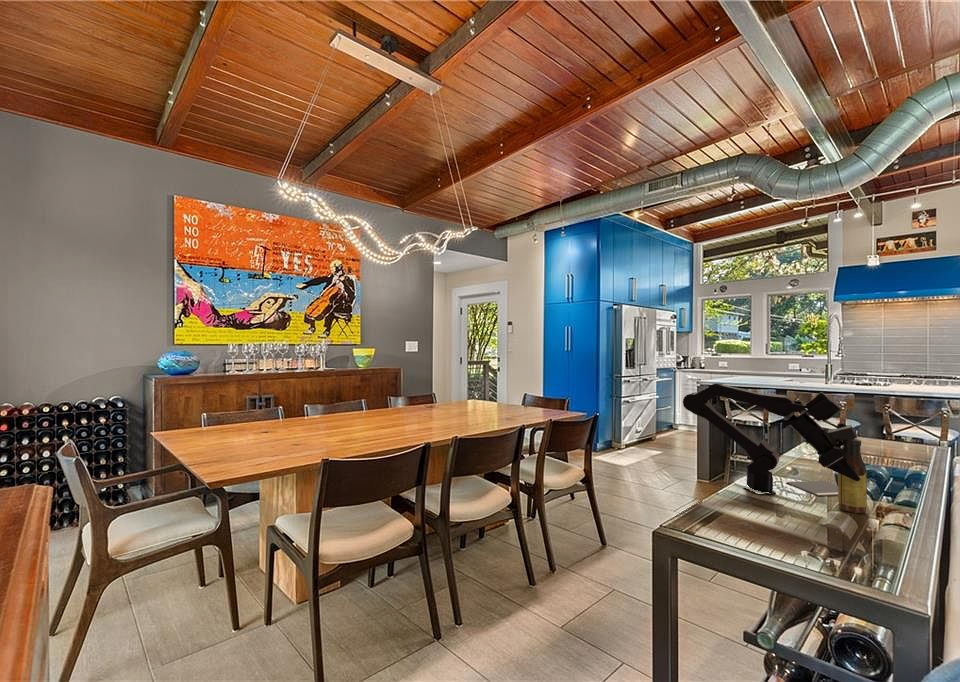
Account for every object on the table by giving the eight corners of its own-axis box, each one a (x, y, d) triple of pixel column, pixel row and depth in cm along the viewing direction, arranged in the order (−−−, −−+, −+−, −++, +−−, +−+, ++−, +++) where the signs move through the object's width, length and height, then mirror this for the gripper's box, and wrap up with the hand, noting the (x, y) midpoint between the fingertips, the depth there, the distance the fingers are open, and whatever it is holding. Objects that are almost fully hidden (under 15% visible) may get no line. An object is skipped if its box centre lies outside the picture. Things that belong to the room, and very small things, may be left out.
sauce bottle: (872, 514, 123) (874, 442, 123) (849, 514, 123) (851, 442, 123) (853, 505, 130) (855, 437, 129) (831, 505, 130) (833, 436, 129)
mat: (818, 496, 137) (818, 494, 137) (786, 483, 149) (786, 481, 149) (858, 494, 139) (858, 493, 139) (823, 481, 151) (823, 480, 151)
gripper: (834, 419, 121) (888, 468, 115) (837, 410, 136) (885, 453, 129) (798, 443, 127) (848, 491, 120) (804, 432, 141) (849, 475, 134)
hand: (858, 476), depth 125 cm, fingers open, 8 cm apart
